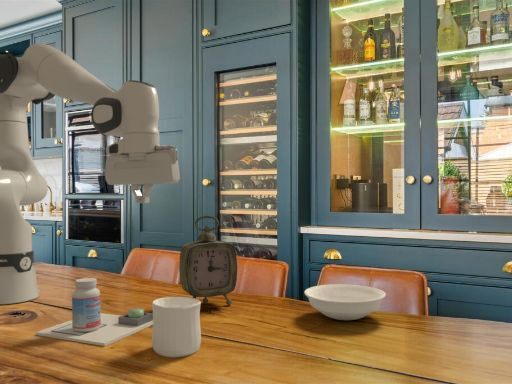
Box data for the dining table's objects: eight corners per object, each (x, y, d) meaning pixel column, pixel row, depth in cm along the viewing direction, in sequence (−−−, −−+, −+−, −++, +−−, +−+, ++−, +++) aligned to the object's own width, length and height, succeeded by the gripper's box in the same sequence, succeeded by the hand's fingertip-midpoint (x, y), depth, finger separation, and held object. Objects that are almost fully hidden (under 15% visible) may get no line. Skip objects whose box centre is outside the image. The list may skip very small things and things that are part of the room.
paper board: (35, 334, 103) (35, 331, 103) (94, 314, 119) (94, 311, 119) (104, 346, 95) (104, 342, 95) (157, 322, 111) (157, 319, 111)
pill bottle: (91, 333, 101) (90, 282, 101) (66, 332, 102) (65, 282, 102) (106, 325, 107) (105, 277, 107) (82, 324, 108) (81, 276, 108)
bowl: (391, 311, 118) (391, 287, 118) (378, 334, 100) (377, 305, 100) (318, 304, 127) (317, 281, 127) (293, 324, 109) (292, 297, 109)
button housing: (118, 323, 109) (118, 317, 109) (134, 317, 114) (134, 311, 114) (138, 326, 106) (138, 319, 106) (153, 319, 111) (153, 313, 111)
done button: (125, 321, 109) (125, 311, 109) (134, 317, 112) (134, 307, 112) (137, 322, 108) (137, 312, 108) (146, 318, 111) (146, 308, 111)
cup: (193, 359, 87) (192, 308, 87) (143, 357, 88) (142, 306, 88) (207, 343, 96) (206, 296, 96) (161, 340, 98) (161, 295, 98)
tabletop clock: (186, 312, 120) (185, 217, 120) (178, 304, 128) (176, 215, 128) (237, 306, 126) (236, 215, 126) (226, 299, 134) (225, 214, 134)
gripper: (184, 145, 111) (185, 202, 111) (118, 149, 120) (118, 202, 120) (169, 143, 105) (170, 203, 105) (100, 148, 114) (101, 203, 114)
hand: (142, 203), depth 113 cm, fingers closed
